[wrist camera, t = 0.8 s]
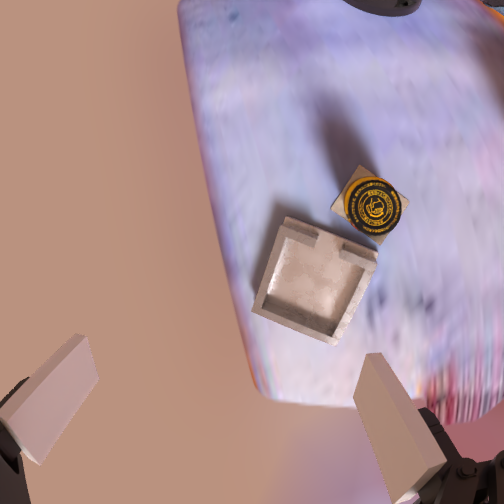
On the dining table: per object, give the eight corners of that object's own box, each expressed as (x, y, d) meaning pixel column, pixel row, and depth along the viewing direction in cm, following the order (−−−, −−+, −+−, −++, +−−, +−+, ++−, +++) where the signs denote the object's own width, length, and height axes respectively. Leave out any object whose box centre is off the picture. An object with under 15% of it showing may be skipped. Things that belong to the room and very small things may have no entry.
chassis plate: (287, 215, 38) (281, 219, 34) (377, 251, 34) (380, 258, 31) (256, 305, 43) (249, 315, 40) (335, 338, 40) (333, 350, 36)
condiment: (359, 164, 33) (365, 156, 22) (409, 201, 31) (437, 211, 20) (330, 208, 35) (323, 221, 24) (379, 245, 34) (393, 273, 23)
